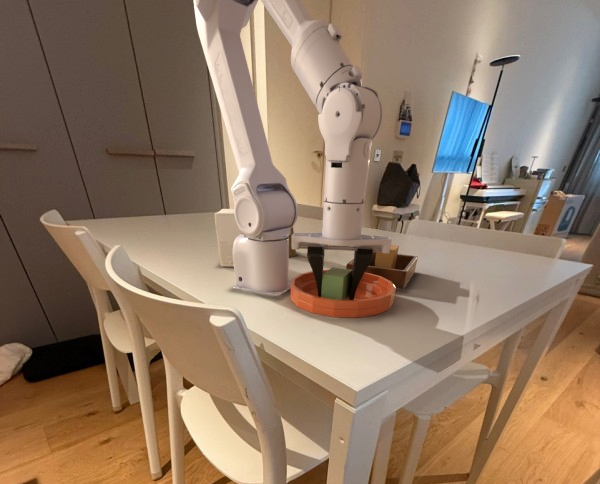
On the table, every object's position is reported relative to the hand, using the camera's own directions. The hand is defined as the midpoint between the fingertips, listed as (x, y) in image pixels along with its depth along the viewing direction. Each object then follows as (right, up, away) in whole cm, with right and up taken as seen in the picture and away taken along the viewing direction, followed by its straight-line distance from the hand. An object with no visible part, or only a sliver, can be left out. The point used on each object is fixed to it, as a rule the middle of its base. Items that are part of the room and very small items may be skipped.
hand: (336, 297), depth 55 cm
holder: (+11, +8, +15) cm, 20 cm away
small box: (-21, +15, +22) cm, 34 cm away
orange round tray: (+1, 0, +3) cm, 3 cm away
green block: (0, -1, +1) cm, 1 cm away
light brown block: (+12, +10, +16) cm, 23 cm away
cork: (-10, +20, +30) cm, 38 cm away
